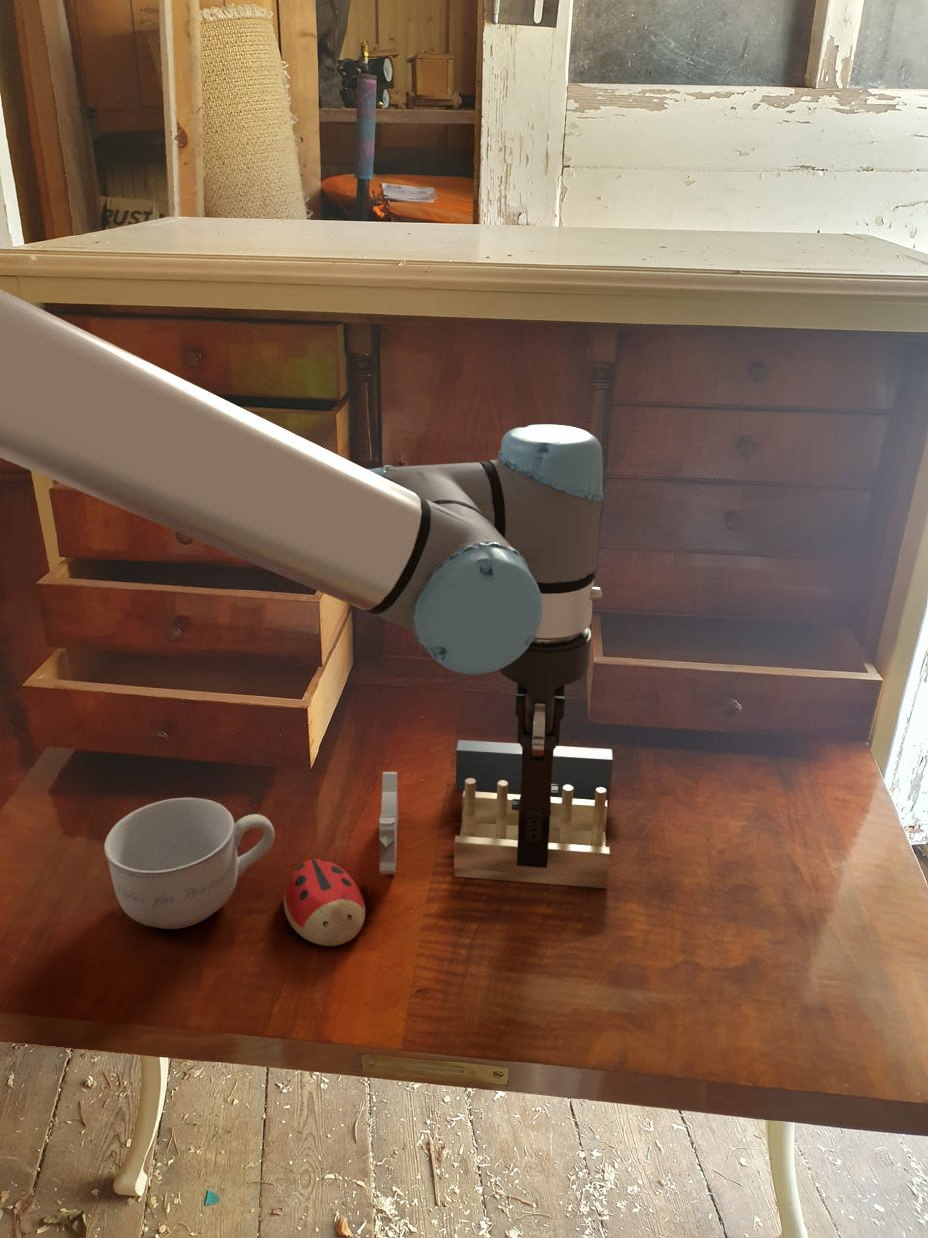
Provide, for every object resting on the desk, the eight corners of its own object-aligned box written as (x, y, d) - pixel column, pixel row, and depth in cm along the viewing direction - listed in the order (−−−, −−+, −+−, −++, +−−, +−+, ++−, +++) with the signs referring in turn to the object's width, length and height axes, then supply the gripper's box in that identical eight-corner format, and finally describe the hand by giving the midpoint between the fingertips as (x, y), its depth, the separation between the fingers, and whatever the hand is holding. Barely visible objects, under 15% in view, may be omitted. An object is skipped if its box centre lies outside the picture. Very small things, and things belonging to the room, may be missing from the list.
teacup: (107, 954, 80) (92, 878, 76) (127, 868, 89) (115, 797, 86) (277, 936, 82) (271, 861, 78) (279, 854, 91) (273, 784, 88)
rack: (454, 877, 89) (454, 806, 85) (463, 823, 96) (464, 756, 93) (606, 889, 88) (613, 817, 84) (604, 834, 95) (610, 766, 91)
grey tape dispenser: (397, 818, 97) (394, 885, 88) (384, 819, 97) (379, 885, 88) (397, 770, 94) (393, 834, 85) (382, 770, 94) (378, 834, 85)
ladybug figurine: (307, 962, 79) (304, 929, 78) (269, 889, 87) (266, 858, 85) (381, 935, 82) (380, 903, 81) (339, 867, 90) (337, 836, 88)
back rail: (455, 790, 101) (456, 750, 99) (457, 779, 103) (458, 739, 101) (609, 800, 100) (612, 759, 98) (608, 789, 102) (612, 749, 99)
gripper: (593, 665, 70) (574, 915, 80) (590, 593, 82) (573, 820, 92) (490, 659, 71) (484, 908, 81) (501, 589, 82) (495, 814, 92)
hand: (532, 861), depth 86 cm, fingers closed
